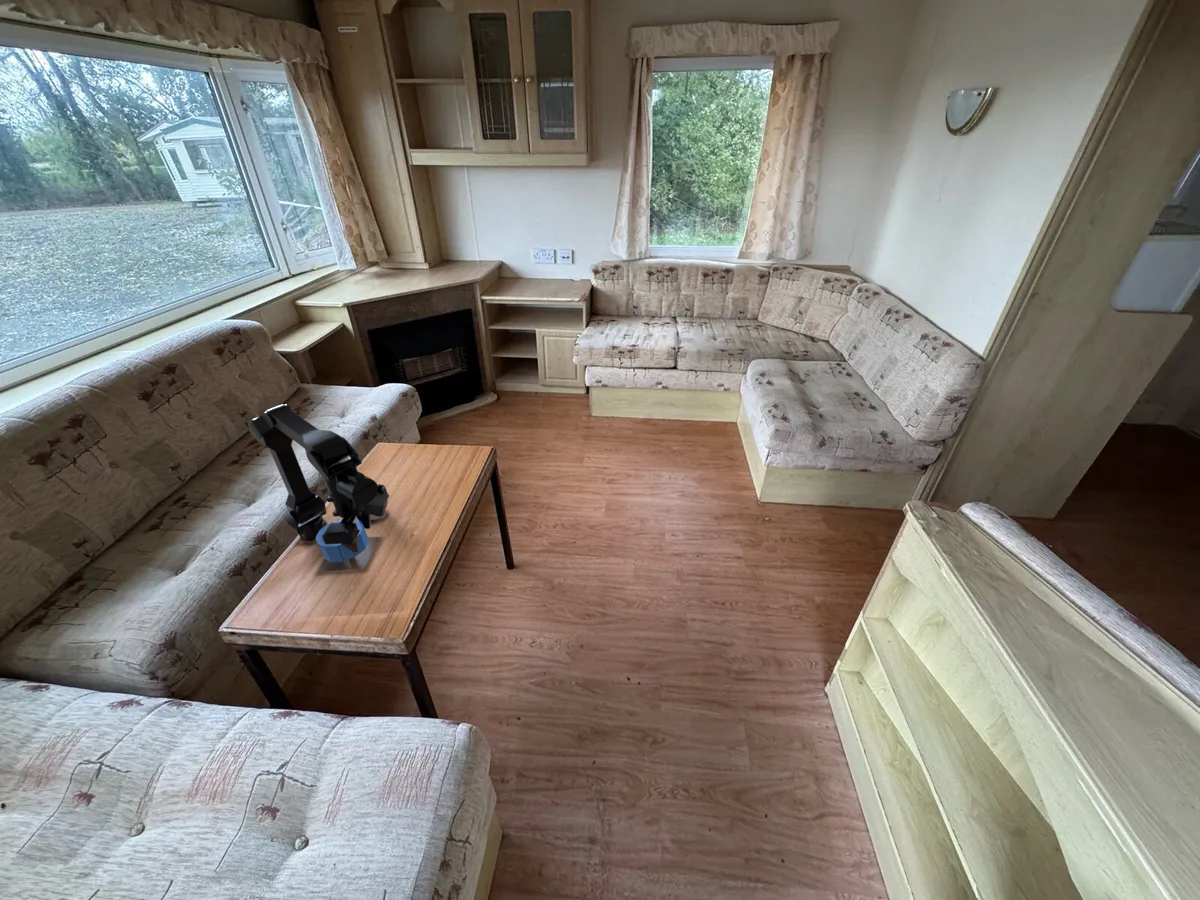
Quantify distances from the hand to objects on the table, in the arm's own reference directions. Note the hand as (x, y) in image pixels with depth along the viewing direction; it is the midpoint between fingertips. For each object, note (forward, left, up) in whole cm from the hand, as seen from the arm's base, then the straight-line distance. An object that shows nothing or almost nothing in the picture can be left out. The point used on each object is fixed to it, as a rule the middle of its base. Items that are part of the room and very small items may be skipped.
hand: (362, 539), depth 116 cm
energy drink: (-7, +25, -13) cm, 29 cm away
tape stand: (-9, +9, -13) cm, 18 cm away
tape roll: (-4, 0, -2) cm, 5 cm away
